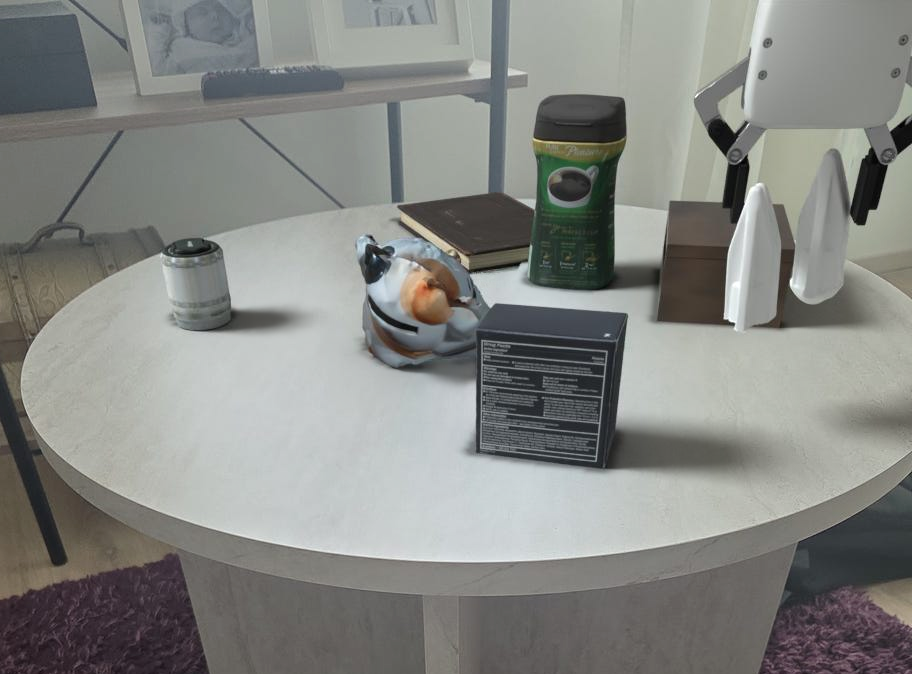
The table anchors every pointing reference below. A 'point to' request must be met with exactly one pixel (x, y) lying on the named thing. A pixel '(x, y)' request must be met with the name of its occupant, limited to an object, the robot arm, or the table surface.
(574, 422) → the small box
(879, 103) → the robot arm
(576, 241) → the coffee jar
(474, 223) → the hardcover book
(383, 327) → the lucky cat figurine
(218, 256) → the camera lens
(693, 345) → the table surface
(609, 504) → the table surface
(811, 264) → the shaker set
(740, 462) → the table surface
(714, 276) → the brown wooden box
